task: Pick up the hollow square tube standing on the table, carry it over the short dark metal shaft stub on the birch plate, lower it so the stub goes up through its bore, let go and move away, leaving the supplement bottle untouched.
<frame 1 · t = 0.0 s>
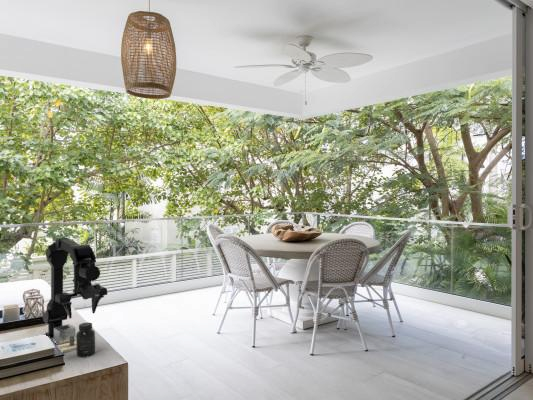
hand: (82, 315, 169), 15 cm above the table, tool pointing down, fingers open, 9 cm apart
hollow square tube: (64, 342, 179), on the table
supplement bottle: (86, 354, 167), on the table
shaft plate: (72, 347, 174), on the table
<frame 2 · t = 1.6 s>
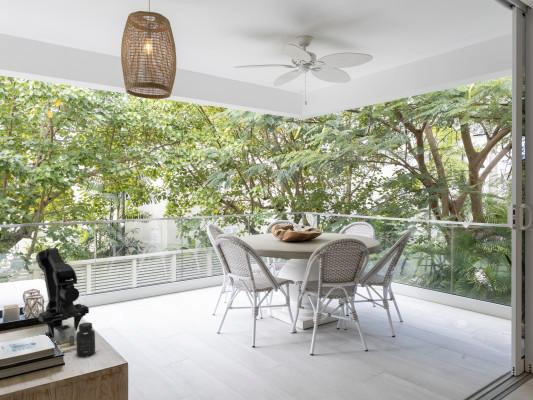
hand: (64, 333, 179), 4 cm above the table, tool pointing down, fingers open, 9 cm apart
nothing on the table moved.
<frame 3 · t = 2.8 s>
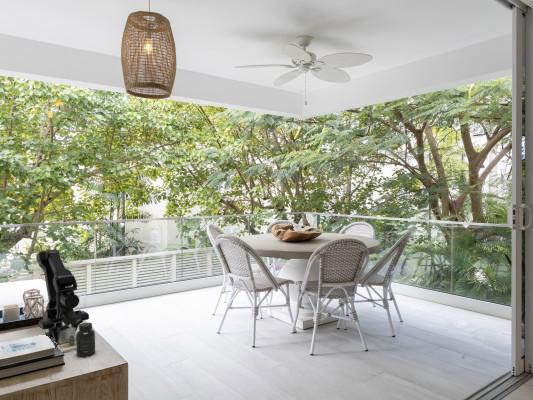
hand: (64, 339, 179), 1 cm above the table, tool pointing down, fingers closed on hollow square tube, 6 cm apart
hollow square tube: (64, 342, 179), on the table, touching gripper
everything else where it was.
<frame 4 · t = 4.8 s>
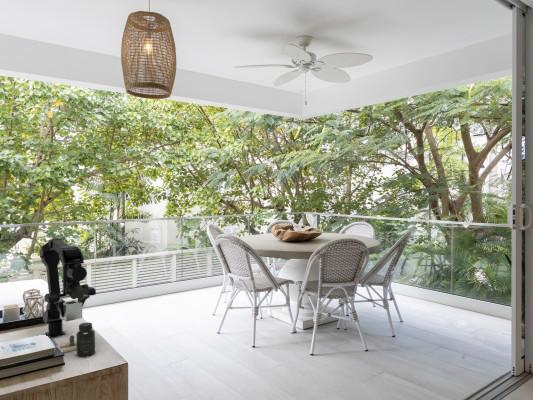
hand: (71, 315, 174), 13 cm above the table, tool pointing down, fingers closed on hollow square tube, 6 cm apart
hollow square tube: (71, 318, 174), point 12 cm above the table, touching gripper
everything else where it was.
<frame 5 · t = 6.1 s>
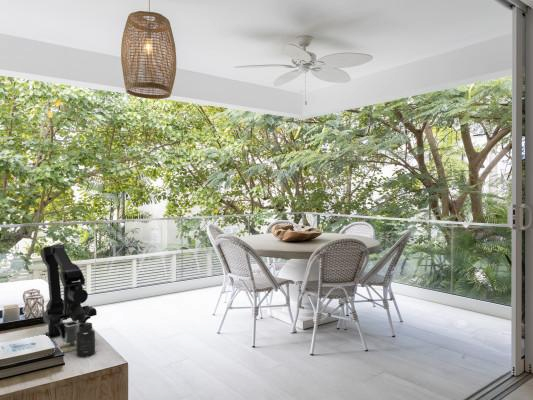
hand: (71, 336, 174), 5 cm above the table, tool pointing down, fingers closed on hollow square tube, 6 cm apart
hollow square tube: (71, 338, 174), point 3 cm above the table, touching gripper
everything else where it was.
when the fingers open (4 cm above the table, at t = 7.2 s): hollow square tube drops 1 cm, resting on shaft plate.
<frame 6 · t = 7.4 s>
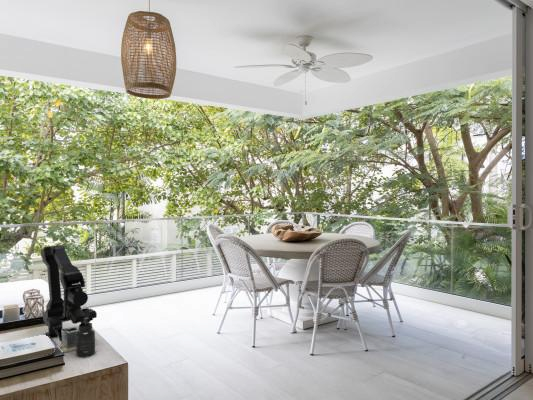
hand: (71, 338, 174), 4 cm above the table, tool pointing down, fingers open, 8 cm apart
hollow square tube: (71, 344, 174), point 1 cm above the table, touching shaft plate
everything else where it was.
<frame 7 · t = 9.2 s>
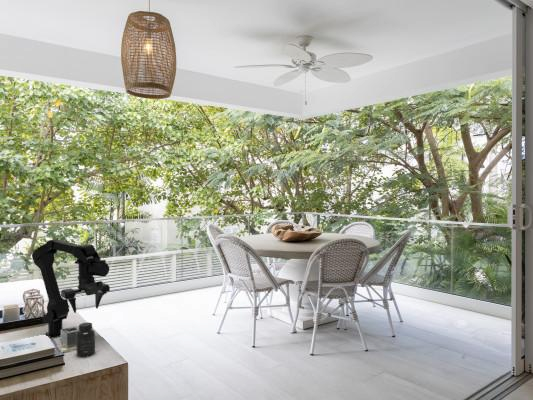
hand: (86, 310, 182), 13 cm above the table, tool pointing down, fingers open, 9 cm apart
nothing on the table moved.
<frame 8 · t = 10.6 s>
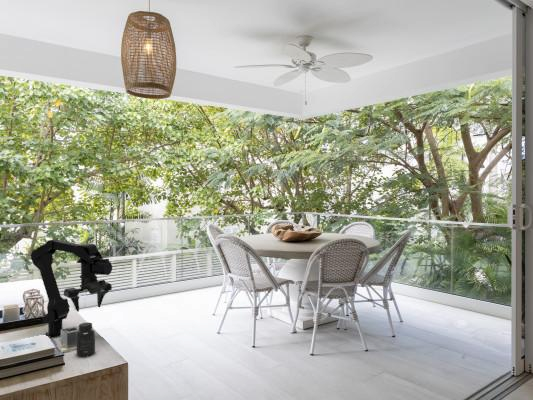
hand: (88, 309, 183), 13 cm above the table, tool pointing down, fingers open, 9 cm apart
nothing on the table moved.
at the end: hollow square tube 0.0 cm off-centre on the shaft plate, point 1.0 cm above the shaft plate's base; hollow square tube tilted 0°; the gripper is holding nothing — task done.
